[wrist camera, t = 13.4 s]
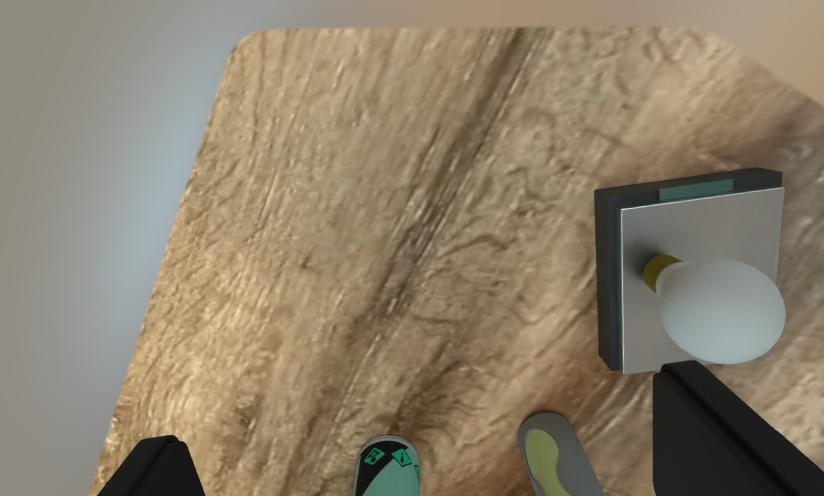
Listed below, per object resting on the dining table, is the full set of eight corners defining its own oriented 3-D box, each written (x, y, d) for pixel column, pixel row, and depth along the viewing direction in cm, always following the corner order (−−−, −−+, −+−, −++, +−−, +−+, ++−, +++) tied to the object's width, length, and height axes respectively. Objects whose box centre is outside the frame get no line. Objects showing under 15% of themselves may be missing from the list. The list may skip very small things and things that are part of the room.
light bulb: (715, 261, 33) (840, 324, 23) (655, 322, 34) (749, 405, 25) (657, 211, 32) (762, 256, 22) (597, 276, 33) (672, 344, 24)
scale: (593, 189, 35) (613, 198, 32) (757, 167, 35) (794, 173, 31) (598, 355, 39) (616, 378, 36) (745, 336, 39) (777, 358, 35)
